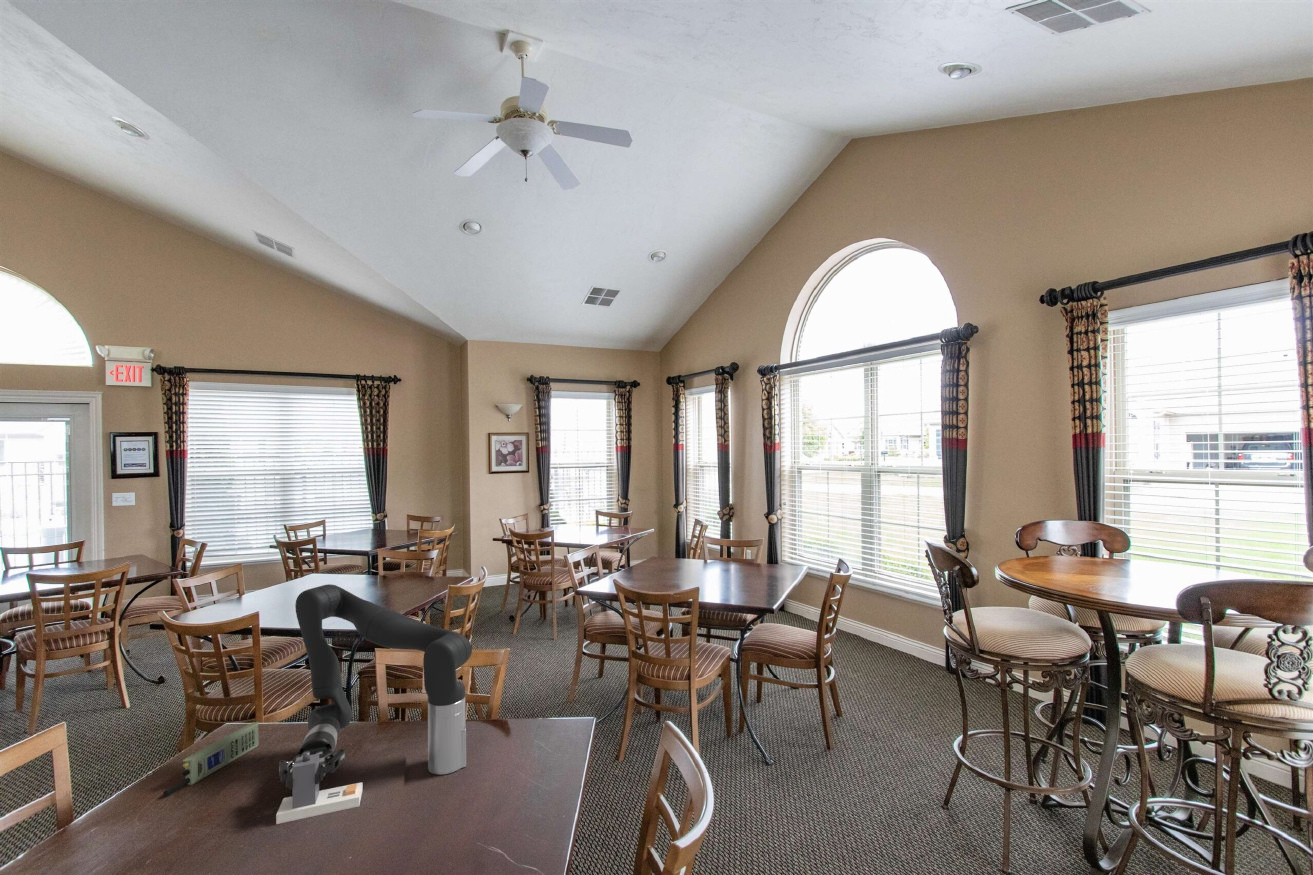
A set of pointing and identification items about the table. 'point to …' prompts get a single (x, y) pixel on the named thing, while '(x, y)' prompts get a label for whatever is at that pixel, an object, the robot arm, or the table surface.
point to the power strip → (322, 803)
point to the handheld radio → (217, 755)
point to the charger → (305, 780)
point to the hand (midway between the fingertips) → (303, 782)
